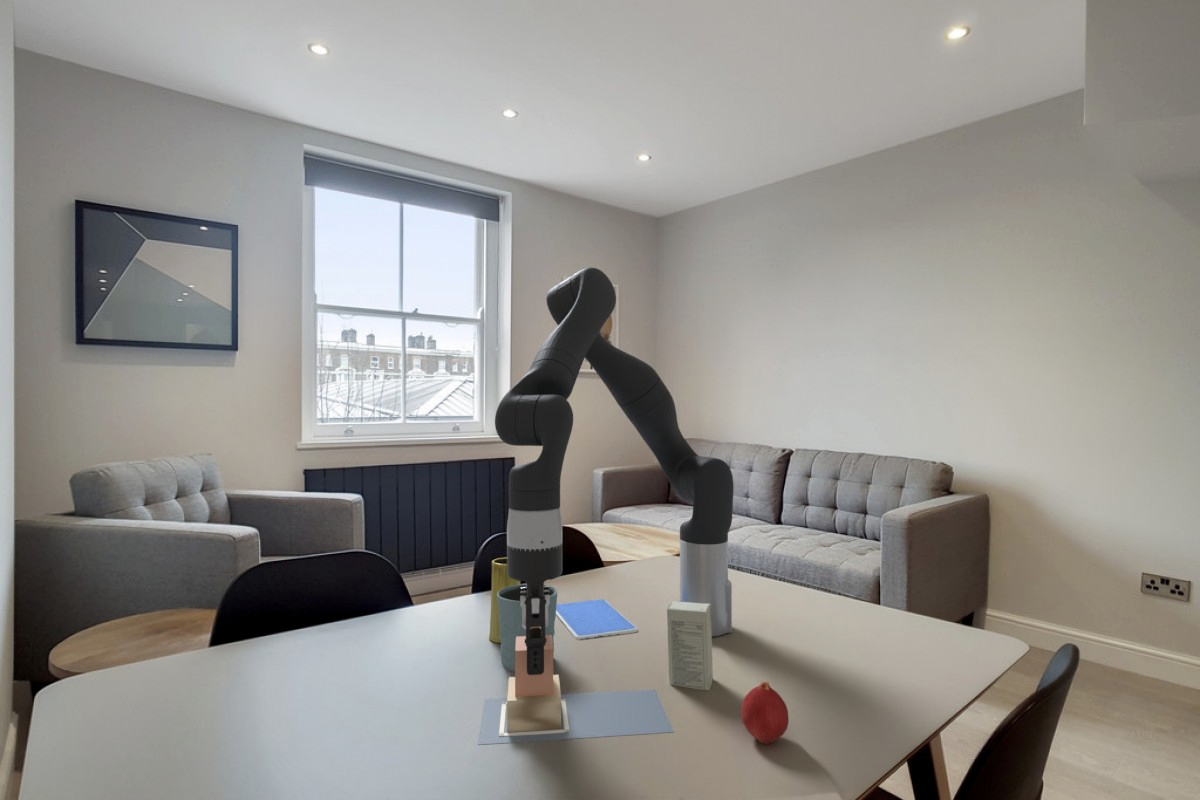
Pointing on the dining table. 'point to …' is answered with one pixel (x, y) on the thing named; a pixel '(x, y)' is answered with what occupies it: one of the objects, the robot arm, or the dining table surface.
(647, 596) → the dining table surface
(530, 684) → the terracotta block
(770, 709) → the onion
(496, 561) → the vase
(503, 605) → the grey-green pot
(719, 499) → the robot arm
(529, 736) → the board
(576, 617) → the tablet computer
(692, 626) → the skincare box
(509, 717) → the oak base block
